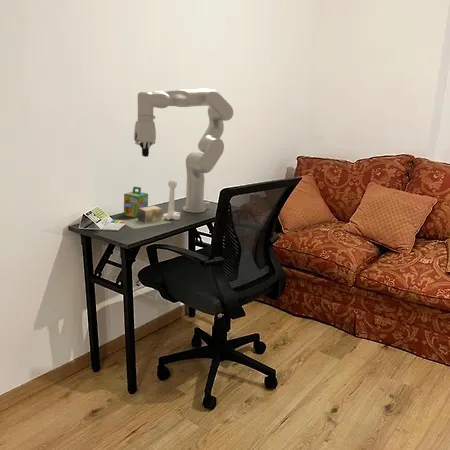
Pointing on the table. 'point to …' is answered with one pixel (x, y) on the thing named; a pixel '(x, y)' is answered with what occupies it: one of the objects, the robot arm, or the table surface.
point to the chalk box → (134, 202)
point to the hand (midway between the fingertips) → (145, 156)
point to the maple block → (149, 214)
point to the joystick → (171, 203)
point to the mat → (138, 224)
